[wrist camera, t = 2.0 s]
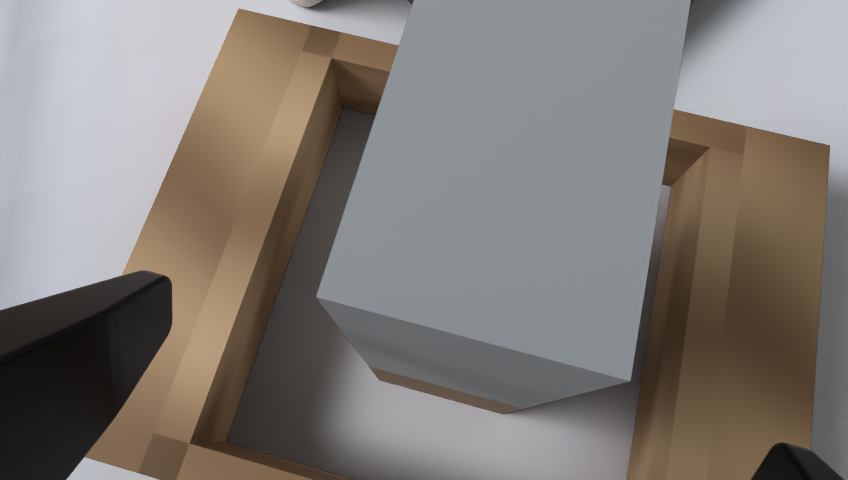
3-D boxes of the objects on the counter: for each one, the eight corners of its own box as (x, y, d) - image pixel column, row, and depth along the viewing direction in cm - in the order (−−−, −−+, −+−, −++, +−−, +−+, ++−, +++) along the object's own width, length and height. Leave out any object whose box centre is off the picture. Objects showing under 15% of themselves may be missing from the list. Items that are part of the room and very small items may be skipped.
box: (502, 413, 19) (630, 381, 7) (379, 380, 19) (316, 297, 8) (541, 237, 20) (692, -13, 9) (428, 208, 21) (436, -68, 9)
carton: (732, 629, 17) (795, 668, 14) (105, 444, 18) (47, 446, 16) (775, 184, 21) (830, 145, 18) (261, 62, 23) (238, 8, 20)
